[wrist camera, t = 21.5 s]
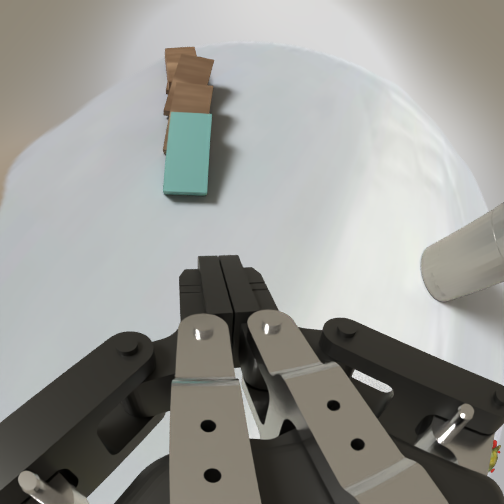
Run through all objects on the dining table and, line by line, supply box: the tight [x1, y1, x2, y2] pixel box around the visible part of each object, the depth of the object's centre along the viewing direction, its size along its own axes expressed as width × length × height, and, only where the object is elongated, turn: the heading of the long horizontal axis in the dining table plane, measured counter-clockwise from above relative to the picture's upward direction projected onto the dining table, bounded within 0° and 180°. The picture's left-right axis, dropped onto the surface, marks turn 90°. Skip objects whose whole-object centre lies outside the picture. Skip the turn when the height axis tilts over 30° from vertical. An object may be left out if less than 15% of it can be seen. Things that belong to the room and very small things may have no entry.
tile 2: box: [163, 82, 213, 154], centre depth 35 cm, size 2×5×10 cm
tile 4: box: [165, 47, 197, 90], centre depth 40 cm, size 2×5×10 cm
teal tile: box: [163, 112, 212, 196], centre depth 33 cm, size 2×5×10 cm
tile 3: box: [164, 54, 214, 116], centre depth 37 cm, size 2×5×10 cm
